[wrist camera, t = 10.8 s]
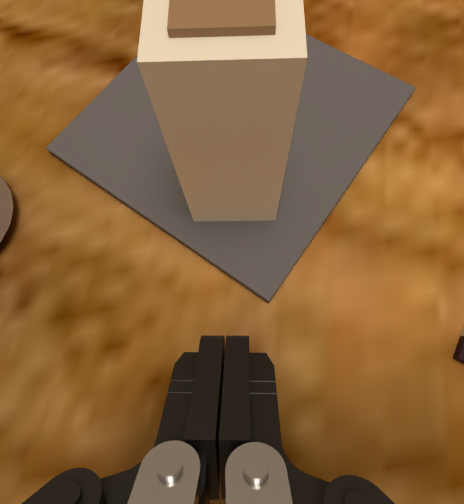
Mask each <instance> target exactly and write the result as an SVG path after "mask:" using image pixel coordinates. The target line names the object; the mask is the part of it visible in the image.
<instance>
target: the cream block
mask: <svg viewBox="0 0 464 504" xmlns="http://www.w3.org/2000/svg"><path fill="white" fill-rule="evenodd" d="M306 62H307V45H306V32H305V19H304V6H303V0H144V4H143V13H142V21H141V30H140V39H139V48H138V57H137V64H138V67H139V69H140V72H141V75H142V78H143V81H144V83H145V86H146V89H147V92H148V95H149V98H150V100H151V103H152V106H153V109H154V112H155V114H156V117H157V120H158V123H159V126H160V128H161V131H162V134H163V137H164V140H165V142H166V145H167V148H168V151H169V154H170V156H171V159H172V162H173V165H174V168H175V171H176V173H177V176H178V179H179V182H180V185H181V187H182V190H183V193H184V196H185V199H186V201H187V204H188V207H189V210H190V213H191V215H192V218H193V221H275V219H276V214H277V209H278V204H279V199H280V194H281V189H282V184H283V179H284V174H285V169H286V164H287V159H288V154H289V149H290V143H291V138H292V133H293V128H294V123H295V118H296V113H297V108H298V103H299V98H300V93H301V88H302V83H303V78H304V73H305V68H306Z"/></svg>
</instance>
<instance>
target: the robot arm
mask: <svg viewBox="0 0 464 504" xmlns="http://www.w3.org/2000/svg"><path fill="white" fill-rule="evenodd" d="M220 473H221V491H222V499H226V504H395V503H394V502H393V501H392V500H390V499H389V498H388V497H387V496H386V495H385V494H384V493H383V492H382V491H381V490H380V489H379V488H378V487H376V486H375V485H374V484H373V483H371V482H370V481H368V480H366V479H364V478H361V477H358V476H353V475H344V476H340V477H338V478H335V479H334V480H333V481H331V483H330V482H327V481H324V480H321V479H319V478H316V477H313V476H310V475H308V474H306V473H304V472H302V471H301V470H299V469H298V468H296V467H295V466H294V465H293V464H292V463H291V462H290V461H289V459H288V458H287V456H286V454H285V452H284V450H283V447H282V443H281V433H280V423H279V413H278V402H277V394H276V383H275V371H274V365H273V363H272V362H271V360H270V358H269V357H268V355H267V354H266V353H249V336H226V346H225V338H224V336H201V339H200V345H199V351H198V352H184V353H183V354H182V356H181V357H180V358H179V359H178V361H177V362H176V363H175V365H174V369H173V373H172V377H171V382H170V385H169V390H168V394H167V398H166V402H165V406H164V410H163V414H162V419H161V423H160V427H159V431H158V435H157V439H156V442H155V445H154V447H153V449H152V450H150V451H149V452H148V454H147V455H146V456H145V457H144V459H143V461H142V462H141V463H139V464H138V465H136V466H135V467H133V468H131V469H129V470H127V471H124V472H121V473H118V474H114V475H111V476H108V477H105V478H102V479H99V477H98V476H97V474H95V473H94V472H93V471H91V470H89V469H86V468H74V469H70V470H67V471H65V472H63V473H61V474H59V475H57V476H56V477H54V478H53V479H52V480H50V481H49V482H48V483H47V484H45V485H44V486H43V487H42V488H41V489H39V490H38V491H37V492H36V493H34V494H33V495H32V496H31V497H29V498H28V499H27V500H26V501H24V502H23V503H22V504H210V499H219V490H220Z"/></svg>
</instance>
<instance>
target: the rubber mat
mask: <svg viewBox="0 0 464 504" xmlns="http://www.w3.org/2000/svg"><path fill="white" fill-rule="evenodd" d="M306 45H307V62H306V68H305V73H304V78H303V83H302V88H301V93H300V98H299V103H298V108H297V113H296V118H295V123H294V128H293V133H292V138H291V143H290V149H289V154H288V159H287V164H286V169H285V174H284V179H283V184H282V189H281V194H280V199H279V204H278V209H277V214H276V219H275V221H193V218H192V215H191V213H190V210H189V207H188V204H187V201H186V199H185V196H184V193H183V190H182V187H181V185H180V182H179V179H178V176H177V173H176V171H175V168H174V165H173V162H172V159H171V156H170V154H169V151H168V148H167V145H166V142H165V140H164V137H163V134H162V131H161V128H160V126H159V123H158V120H157V117H156V114H155V112H154V109H153V106H152V103H151V100H150V98H149V95H148V92H147V89H146V86H145V83H144V81H143V78H142V75H141V72H140V69H139V67H138V64H137V57H138V55H137V56H136V57H135V58H134V59H133V60H132V61H131V62H130V63H129V64H128V65H127V66H126V67H125V68H124V69H123V70H122V71H121V72H120V73H119V74H118V75H117V76H116V77H115V78H114V79H113V80H112V81H111V83H110V84H109V85H108V86H107V87H106V88H105V89H104V90H103V91H102V92H101V93H100V94H99V95H98V96H97V97H96V98H95V99H94V100H93V101H92V102H91V103H90V104H89V105H88V106H87V107H86V108H85V109H84V110H83V111H82V112H81V113H80V114H79V115H78V116H77V117H76V118H75V119H74V120H73V121H72V122H71V123H70V124H69V125H68V126H67V127H66V128H65V129H64V130H63V131H62V132H61V133H60V134H59V135H58V136H57V137H56V138H55V139H54V140H53V141H52V142H51V143H50V144H49V145H48V146H47V147H46V149H47V150H48V151H49V152H50V153H51V154H52V155H54V156H55V157H57V158H58V159H60V160H61V161H63V162H64V163H66V164H67V165H68V166H70V167H71V168H73V169H74V170H76V171H77V172H79V173H80V174H82V175H83V176H84V177H86V178H87V179H89V180H90V181H92V182H93V183H95V184H96V185H98V186H99V187H100V188H102V189H103V190H105V191H106V192H108V193H109V194H111V195H112V196H114V197H115V198H116V199H118V200H119V201H121V202H122V203H124V204H125V205H127V206H128V207H130V208H131V209H132V210H134V211H135V212H137V213H138V214H140V215H141V216H143V217H144V218H146V219H147V220H148V221H150V222H151V223H153V224H154V225H156V226H157V227H159V228H160V229H162V230H163V231H164V232H166V233H167V234H169V235H170V236H172V237H173V238H175V239H176V240H178V241H179V242H180V243H182V244H183V245H185V246H186V247H188V248H189V249H191V250H192V251H194V252H195V253H196V254H198V255H199V256H201V257H202V258H204V259H205V260H207V261H208V262H210V263H211V264H212V265H214V266H215V267H217V268H218V269H220V270H221V271H223V272H224V273H226V274H227V275H228V276H230V277H231V278H233V279H234V280H236V281H237V282H239V283H240V284H242V285H243V286H244V287H246V288H247V289H249V290H250V291H252V292H253V293H255V294H256V295H258V296H259V297H260V298H262V299H263V300H265V301H266V302H268V303H269V302H270V300H271V299H272V297H273V296H274V294H275V293H276V291H277V290H278V289H279V287H280V286H281V284H282V283H283V281H284V280H285V278H286V277H287V275H288V274H289V273H290V271H291V270H292V268H293V267H294V265H295V264H296V262H297V261H298V259H299V258H300V256H301V255H302V254H303V252H304V251H305V249H306V248H307V246H308V245H309V243H310V242H311V240H312V239H313V238H314V236H315V235H316V233H317V232H318V230H319V229H320V227H321V226H322V224H323V223H324V221H325V220H326V219H327V217H328V216H329V214H330V213H331V211H332V210H333V208H334V207H335V205H336V204H337V203H338V201H339V200H340V198H341V197H342V195H343V194H344V192H345V191H346V189H347V188H348V186H349V185H350V184H351V182H352V181H353V179H354V178H355V176H356V175H357V173H358V172H359V170H360V169H361V168H362V166H363V165H364V163H365V162H366V160H367V159H368V157H369V156H370V154H371V153H372V151H373V150H374V149H375V147H376V146H377V144H378V143H379V141H380V140H381V138H382V137H383V135H384V134H385V133H386V131H387V130H388V128H389V127H390V125H391V124H392V122H393V121H394V119H395V118H396V117H397V115H398V114H399V112H400V111H401V109H402V108H403V106H404V105H405V103H406V102H407V100H408V99H409V98H410V96H411V95H412V93H413V91H414V90H415V88H416V87H414V86H412V85H409V84H407V83H405V82H403V81H401V80H399V79H397V78H395V77H393V76H391V75H389V74H387V73H385V72H383V71H381V70H379V69H376V68H374V67H372V66H370V65H368V64H366V63H364V62H362V61H360V60H358V59H356V58H354V57H352V56H350V55H348V54H346V53H344V52H341V51H339V50H337V49H335V48H333V47H331V46H329V45H327V44H325V43H323V42H321V41H319V40H317V39H315V38H313V37H311V36H309V35H306Z"/></svg>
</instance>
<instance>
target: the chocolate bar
mask: <svg viewBox="0 0 464 504" xmlns="http://www.w3.org/2000/svg"><path fill="white" fill-rule="evenodd" d="M453 359H455V360H457V361H459V362H461V363H463V364H464V326H463V329H462V332H461V335H460V338H459V341H458V344H457V347H456V350H455V353H454V356H453Z"/></svg>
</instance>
